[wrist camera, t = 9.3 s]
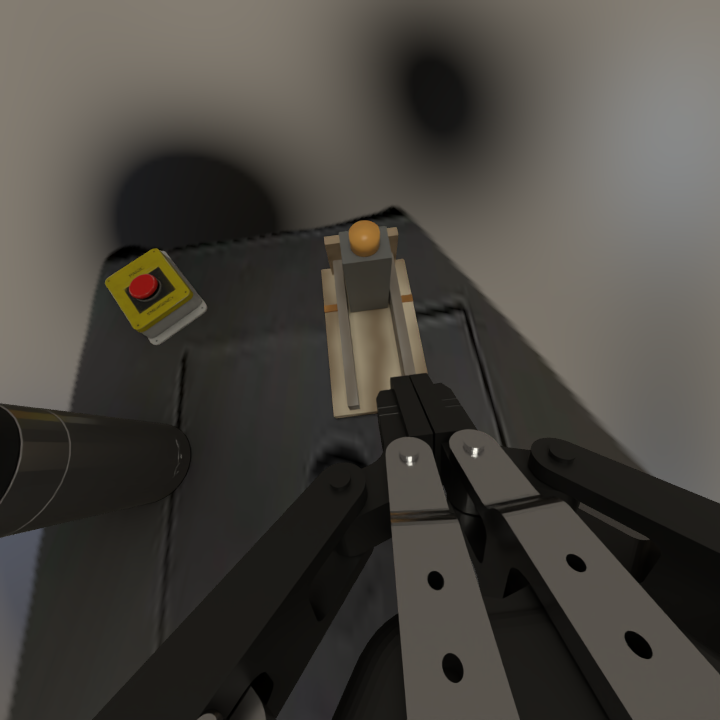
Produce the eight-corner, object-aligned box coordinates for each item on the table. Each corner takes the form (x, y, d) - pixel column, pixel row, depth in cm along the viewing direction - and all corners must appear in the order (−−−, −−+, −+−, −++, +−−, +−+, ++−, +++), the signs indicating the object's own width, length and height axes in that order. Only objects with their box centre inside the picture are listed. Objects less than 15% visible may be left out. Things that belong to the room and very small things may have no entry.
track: (336, 418, 34) (325, 409, 27) (323, 277, 41) (312, 238, 34) (430, 406, 34) (446, 394, 27) (402, 267, 41) (408, 225, 33)
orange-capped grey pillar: (350, 312, 37) (340, 253, 26) (347, 286, 38) (336, 220, 27) (387, 307, 36) (393, 246, 25) (383, 282, 38) (386, 213, 27)
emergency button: (131, 337, 35) (87, 266, 39) (157, 349, 39) (114, 284, 43) (193, 294, 37) (144, 231, 41) (211, 310, 41) (165, 251, 45)
